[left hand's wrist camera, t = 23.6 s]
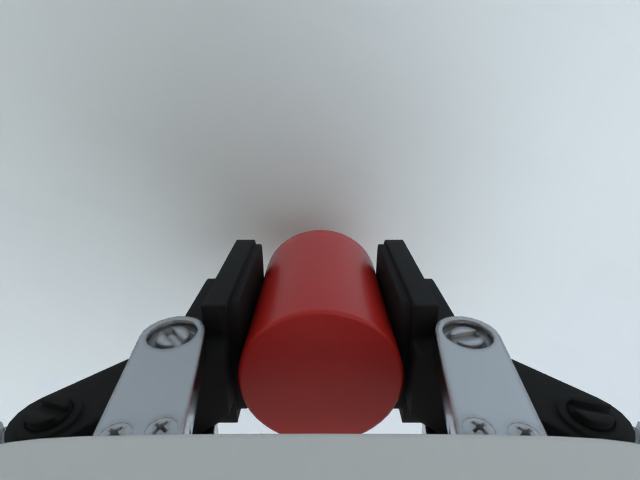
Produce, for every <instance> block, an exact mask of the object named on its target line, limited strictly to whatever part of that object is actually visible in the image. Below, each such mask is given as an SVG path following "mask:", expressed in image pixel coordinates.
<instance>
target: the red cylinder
mask: <svg viewBox="0 0 640 480" xmlns="http://www.w3.org/2000/svg"><path fill="white" fill-rule="evenodd" d="M403 382H404V368H403V363H402V359H401V355H400V352H399V349H398V346H397V342H396V339H395V336H394V332H393V329H392V326H391V323H390V319H389V316H388V313H387V309H386V306H385V303H384V300H383V296H382V293H381V290H380V286H379V283H378V280H377V277H376V273H375V270H374V267H373V264H372V261H371V259H370V257H369V256H368V254H367V252H366V251H365V250H364V249H363V248H362V247H361V246H360V245H359V244H358V243H357V242H355V241H354V240H352V239H351V238H349V237H347V236H345V235H343V234H340V233H337V232H332V231H325V230H315V231H308V232H305V233H301V234H298V235H296V236H294V237H292V238H290V239H289V240H287V241H286V242H284V243H283V244H282V245H281V246H280V247H279V248H278V249H277V250H276V251H275V253H274V254H273V256H272V257H271V259H270V261H269V264H268V267H267V270H266V273H265V277H264V280H263V283H262V287H261V290H260V293H259V297H258V300H257V304H256V307H255V310H254V314H253V317H252V320H251V324H250V327H249V331H248V334H247V337H246V341H245V344H244V347H243V351H242V354H241V358H240V361H239V366H238V383H239V388H240V391H241V395H242V397H243V400H244V402H245V404H246V405H247V407H248V408H249V410H250V411H251V412H252V414H253V415H254V416H255V417H256V418H257V419H258V420H259V421H260V422H262V423H263V424H264V425H266V426H267V427H269V428H270V429H272V430H273V431H275V432H277V433H279V434H362V433H364V432H366V431H368V430H370V429H371V428H373V427H375V426H376V425H377V424H379V423H380V422H381V421H382V420H383V419H384V418H385V417H386V416H388V414H389V413H390V412H391V411H392V409H393V408H394V406H395V405H396V403H397V401H398V399H399V396H400V394H401V391H402V387H403Z"/></svg>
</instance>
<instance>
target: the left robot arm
mask: <svg viewBox="0 0 640 480" xmlns="http://www.w3.org/2000/svg"><path fill="white" fill-rule="evenodd" d="M376 277H377V280H378V283H379V286H380V290H381V293H382V296H383V300H384V303H385V306H386V309H387V313H388V316H389V319H390V323H391V326H392V329H393V332H394V336H395V339H396V342H397V346H398V349H399V352H400V355H401V359H402V363H403V368H404V382H403V387H402V391H401V394H400V396H399V399H398V401H397V403H396V405H395V406H394V408H393V409H399V411H400V415H401V419H402V423H423V425H422V434H218V425H217V423H237V422H238V418H239V414H240V410H241V408H248V407H247V405H246V404H245V402H244V400H243V397H242V395H241V391H240V388H239V383H238V366H239V361H240V358H241V354H242V351H243V347H244V344H245V341H246V337H247V334H248V331H249V327H250V324H251V320H252V317H253V314H254V310H255V307H256V304H257V300H258V297H259V293H260V290H261V287H262V283H263V280H264V270H263V253H262V245H261V244H256V242H255V240H237V241H236V242H235V244H234V246H233V248H232V250H231V252H230V253H229V255H228V257H227V259H226V261H225V262H224V264H223V266H222V268H221V270H220V271H219V273H218V275H217V277H216V279H207V281H206V282H205V284H204V285H203V287H202V289H201V290H200V292H199V294H198V296H197V297H196V299H195V301H194V302H193V304H192V306H191V307H190V309H189V311H188V312H187V314H186V316H178V317H172V318H167V319H164V320H161V321H158V322H156V323H154V324H152V325H150V326H149V327H148V328H147V329H145V330H144V331H143V333H142V334H141V335H140V337H139V339H138V341H137V343H136V345H135V347H134V349H133V351H132V354H131V356H130V358H129V359H127V360H125V361H123V362H121V363H118V364H116V365H114V366H112V367H110V368H107V369H105V370H103V371H101V372H98V373H96V374H94V375H92V376H90V377H87V378H85V379H83V380H81V381H78V382H76V383H74V384H72V385H70V386H67V387H65V388H63V389H61V390H58V391H56V392H54V393H52V394H50V395H47V396H45V397H43V398H41V399H39V400H37V401H35V402H34V403H32V404H30V405H28V406H27V407H26V408H24V409H23V410H22V411H20V412H19V413H18V414H17V415H16V416H15V417H14V418H13V419H12V420H11V421H10V422H9V424H8V426H7V427H5V428H4V426H3V424H2V421H1V422H0V480H640V422H639V421H638V423H637V425H636V428H635V427H632V425H631V423H630V422H629V421H628V419H627V418H626V417H625V416H624V415H623V414H622V413H621V412H619V411H618V410H617V409H615V408H614V407H613V406H611V405H610V404H608V403H606V402H604V401H603V400H601V399H599V398H597V397H595V396H592V395H590V394H588V393H586V392H584V391H581V390H579V389H577V388H575V387H572V386H570V385H568V384H566V383H564V382H561V381H559V380H557V379H555V378H552V377H550V376H548V375H546V374H544V373H541V372H539V371H537V370H535V369H532V368H530V367H528V366H526V365H524V364H521V363H519V362H517V361H515V360H513V359H511V358H510V356H509V354H508V351H507V349H506V347H505V345H504V343H503V341H502V339H501V337H500V335H499V334H498V333H497V331H496V330H495V329H493V328H492V327H491V326H490V325H488V324H486V323H484V322H482V321H479V320H476V319H473V318H468V317H462V316H454V314H453V313H452V311H451V309H450V308H449V306H448V304H447V303H446V301H445V299H444V298H443V296H442V294H441V293H440V291H439V289H438V288H437V286H436V284H435V282H434V281H433V280H432V279H424V277H423V275H422V274H421V272H420V270H419V268H418V266H417V265H416V263H415V261H414V259H413V257H412V256H411V254H410V252H409V250H408V248H407V247H406V245H405V243H404V241H403V240H385V241H384V244H379V245H378V250H377V266H376Z"/></svg>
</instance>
